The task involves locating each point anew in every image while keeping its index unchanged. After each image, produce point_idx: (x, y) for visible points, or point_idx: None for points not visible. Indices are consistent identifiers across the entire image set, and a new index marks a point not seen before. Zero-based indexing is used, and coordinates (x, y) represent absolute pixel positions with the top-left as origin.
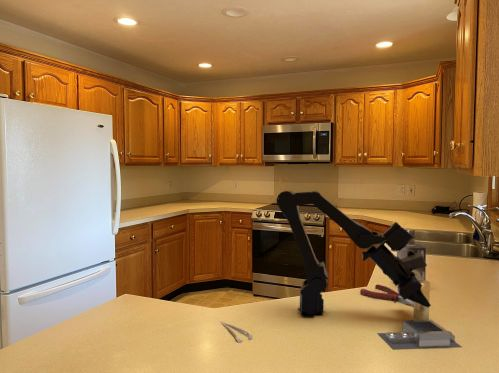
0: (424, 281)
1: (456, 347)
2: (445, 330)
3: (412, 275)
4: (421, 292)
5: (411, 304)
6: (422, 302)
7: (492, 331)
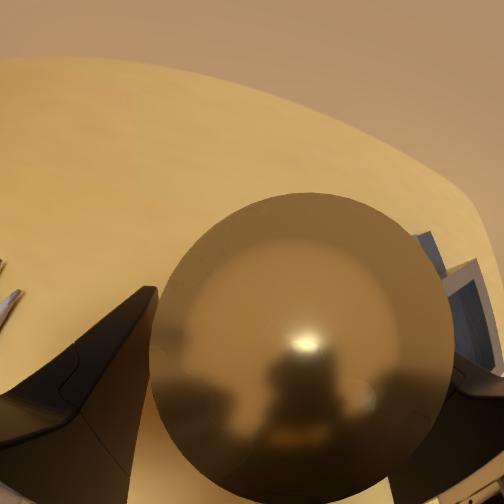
0: (294, 297)
1: (438, 251)
2: (468, 270)
3: (3, 485)
4: (483, 371)
5: (2, 320)
6: None
7: (235, 87)
